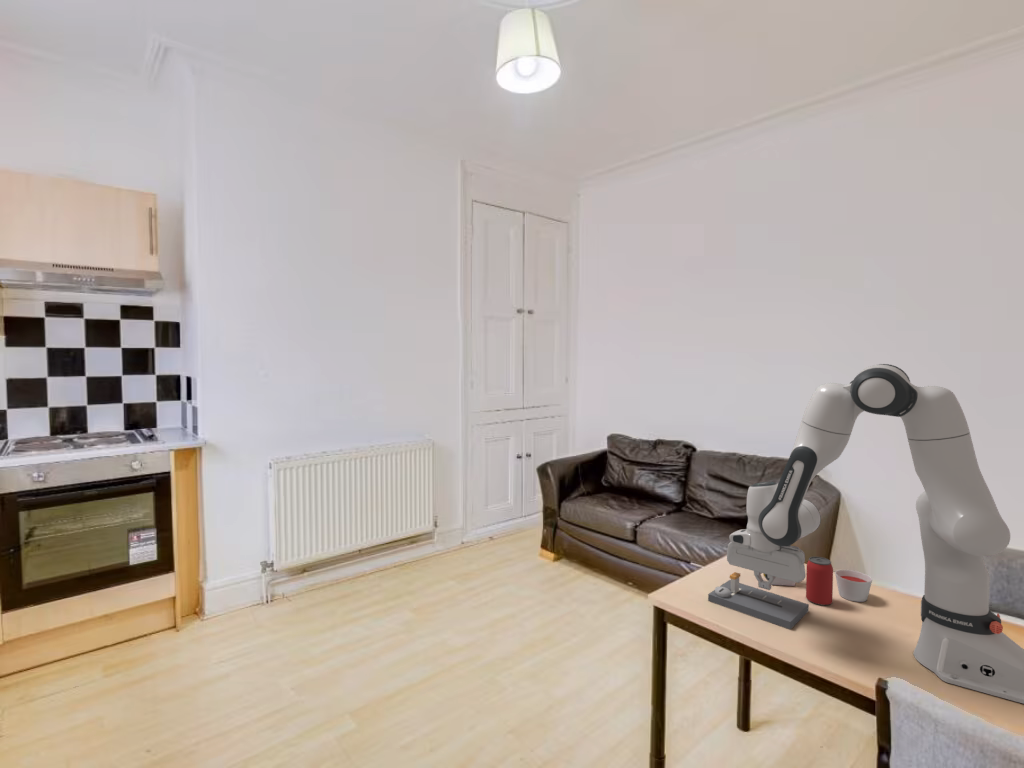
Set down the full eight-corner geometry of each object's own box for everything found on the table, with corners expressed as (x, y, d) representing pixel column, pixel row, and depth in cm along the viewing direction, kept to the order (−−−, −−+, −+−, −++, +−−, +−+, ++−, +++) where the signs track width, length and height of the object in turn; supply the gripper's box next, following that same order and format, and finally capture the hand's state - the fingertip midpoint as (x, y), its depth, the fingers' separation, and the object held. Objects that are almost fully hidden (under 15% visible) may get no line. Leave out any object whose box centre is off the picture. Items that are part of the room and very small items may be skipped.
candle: (829, 589, 156) (829, 568, 155) (861, 591, 154) (862, 570, 154) (843, 603, 147) (844, 581, 147) (878, 605, 145) (878, 583, 145)
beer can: (825, 596, 151) (826, 556, 151) (837, 606, 145) (838, 565, 144) (801, 595, 152) (802, 555, 151) (812, 605, 145) (813, 564, 145)
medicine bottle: (763, 575, 166) (763, 539, 165) (786, 576, 165) (787, 539, 164) (770, 585, 159) (771, 546, 158) (795, 586, 158) (796, 548, 157)
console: (808, 611, 142) (808, 598, 142) (790, 629, 132) (790, 615, 132) (729, 586, 158) (729, 574, 158) (708, 600, 148) (708, 588, 148)
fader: (740, 589, 150) (740, 573, 150) (734, 593, 148) (735, 577, 148) (734, 587, 152) (735, 572, 151) (729, 591, 149) (729, 575, 149)
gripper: (809, 545, 138) (809, 596, 139) (733, 529, 153) (734, 574, 154) (800, 551, 134) (801, 603, 134) (723, 534, 149) (724, 581, 150)
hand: (764, 588), depth 144 cm, fingers closed
